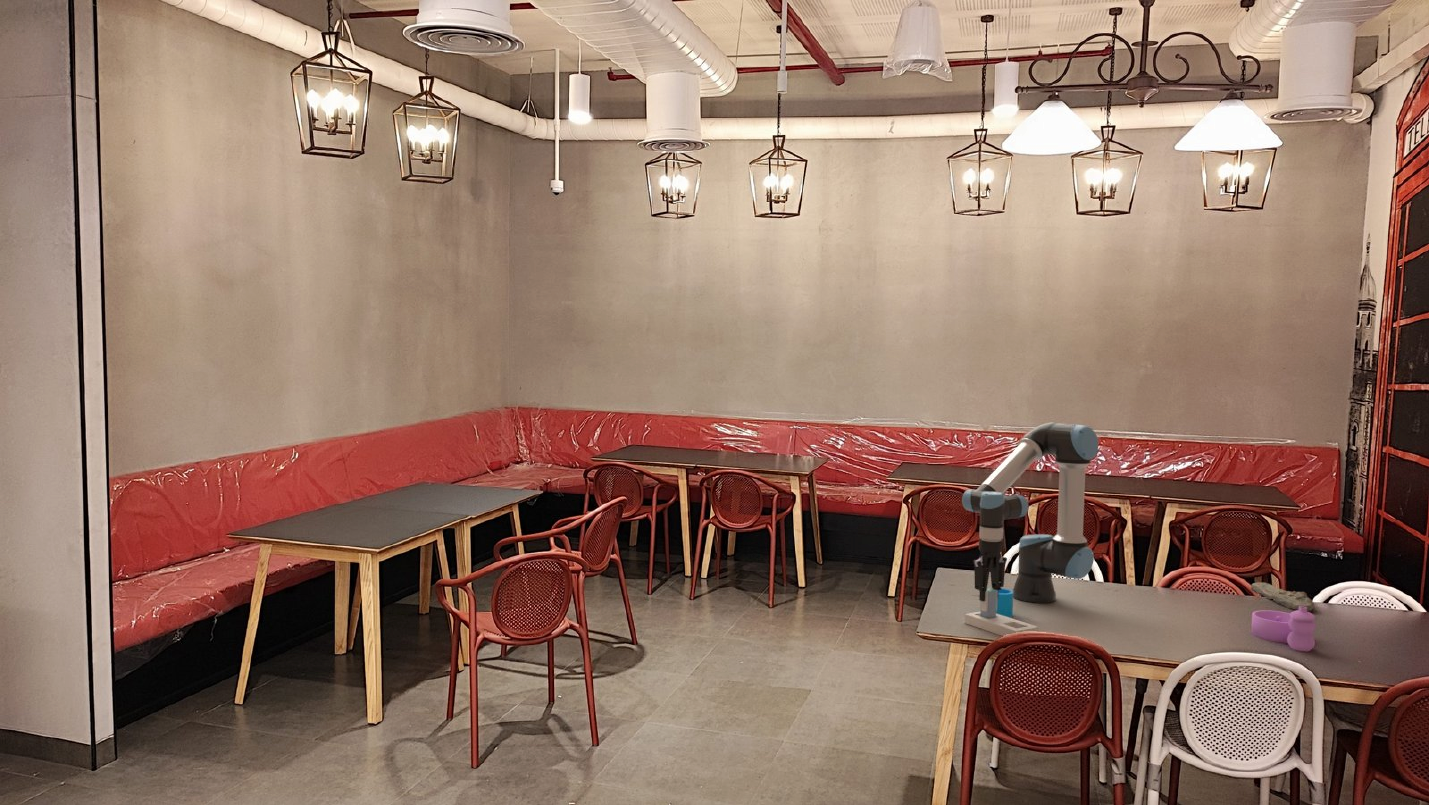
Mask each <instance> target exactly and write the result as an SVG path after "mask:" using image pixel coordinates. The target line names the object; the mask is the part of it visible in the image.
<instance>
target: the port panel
mask: <svg viewBox="0 0 1429 805" xmlns="http://www.w3.org/2000/svg"><path fill="white" fill-rule="evenodd" d="M980 615H981V610H980V611H974V612H969V613H965V614H964V624H967V625H970V626H973V627H975V628H979V629H980V630H983V631H987V632H989V633H992V634H995V635H999V636H1000V637H1001V636H1002V637H1004V636H1003V635H1006V634H1012V633H1016V632H1023V631H1038V632H1039V626H1038V625H1033V624H1030V623H1027V622H1024V621H1020V620H1018V619H1015V618H1012V617H1010V618H1009V617H1006V616H1003V615H1000V614H997V613H996V618H991V619H987V618H984V617H981V616H980Z"/></svg>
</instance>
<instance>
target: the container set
mask: <svg viewBox="0 0 1429 805" xmlns="http://www.w3.org/2000/svg"><path fill="white" fill-rule="evenodd" d="M1251 614H1252V615H1251V632H1250V633H1251V634H1252V635H1253V636H1254V637H1256V638H1259V639H1262V640H1265V641H1270V642H1276V643H1284V644H1288V645H1289V647H1290V649H1293V650H1294V651H1297V652H1298V651H1299V652H1310V651H1311V650H1313V648H1315V645H1316V640H1315V637H1314V636H1313V634H1312V633H1314V632H1315V630H1316V624H1315V620H1316V617H1315V615H1314V614H1313V613H1311V611H1307V607H1302V606H1300V607H1299V610H1297V609H1296V610H1293V611H1292V612H1285V611H1279V610H1267V609H1265V610H1262V609H1261V610H1256V611H1253V612H1252V613H1251Z"/></svg>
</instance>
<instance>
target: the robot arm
mask: <svg viewBox="0 0 1429 805" xmlns="http://www.w3.org/2000/svg"><path fill="white" fill-rule="evenodd" d="M1098 451H1099V440H1098V436H1097V434H1096V432H1095V430H1094V429H1093V427H1092V428H1091V426H1088V425H1083V424H1078V423H1066V422H1065V423H1064V422H1063V423H1061V422H1046V423H1042V424H1040V425H1038V426H1036V427H1034V428H1033V429H1031V430H1029V431H1028V432H1027V433H1026V434H1024V435H1023V437H1021V438H1020V440H1018V442H1017V447H1015V449H1014V450H1013V451H1012V452H1011V453H1010V454H1009V455H1008V456H1007V457H1006V458H1005V459H1004V460H1003V461H1002V462H1001V463H1000V464H999V465H998V467H996V469H995V470H994V471H993V472H992V473H991V474H989V476H988V477H987V478H986V479H985V480H984V481H983V482H982V483H981V484H980V486H978V487H977V489H975V488H973V489H966V490H965V491H964V493H963V494H962V498H961V502H962V503H961V504H962V507H963V508H964V509H965V510H966V511H969V512H972V513H977V514H979V532H978V534H979V535H978V537H979V538H980V539H979V540H978V550H979V552H980V555H979V557H978V559H974V560H973V561H972V563H973V566H974V570H973V571H974V589H975V590H977V591H978V592H979V596H978V597H979V598H978V599H979V602H980V603H979V610H980V611H981V610H982V611H985V612H987V611H988V592H987V588H988V583H989V577H990V581H991V589H995V590H997V599H998V591H999V590H1001V589H1003V587H1004V584H1005V573H1006V572H1005V571H1006V563H1007V560H1008V558H1007V557H1005V556H1002V554H1001V553H1002V552H1003V546H1004V545H1003V543H1004V542H1003V539H1004V521H1005V520H1011V519H1019V518H1023V517H1024V516H1026V515H1027V514H1028V512H1029V502H1028V500H1027V499H1026V497H1024V496H1023V495H1022V494H1021V495H1020V494H1012V495H1007V494H1005V493H1006V491H1007V490H1008V489H1009V488H1010V487H1011V486H1012V485H1013V484H1014V483H1015V482H1016V481H1017V480H1018V479H1019V478H1020V477H1021V476H1022V475H1023V473H1024V472H1025V471H1027V469H1028V468H1029V467H1030V466H1031V465H1032V464H1033V463H1034V462H1037V461H1039V460H1041V459H1042V458H1043V457H1044V456H1048V455H1049V456H1050V455H1051V456H1055V458H1054V459H1055V463H1056V465H1058V467H1059V472H1058V474H1059V478H1058V501H1057V507H1058V508H1057V509H1058V510H1057V529H1056V530H1057V531H1056V534H1055V535H1051V534H1043V533H1042V534H1039V533H1038V534H1027V535H1023V536H1022V537H1020V539H1019V544H1018V574H1017V578H1016V581H1015V583H1014V586H1013V589H1012V591H1013V599H1017V600H1019V601H1023V602H1030V603H1043V604H1044V603H1052V602H1055V601H1056V600H1057V593H1056V591H1055V586H1054V583H1053V579H1052V578H1053V577H1052V576H1053V575H1057V576H1061V577H1065V578H1068V579H1076V580H1081V579H1084V578H1085V577H1087V575H1088V574H1089V572H1091V569H1092V567H1093V565H1094V560H1095V555H1094V552H1093V550H1092V549H1091V547H1088V540H1087V538H1086V537H1085V536H1084V515H1085V512H1084V511H1085V490H1086V488H1085V485H1086V484H1085V483H1086V468H1087V467H1088V466H1089V465H1091V460H1093V459H1094V458H1095V457H1096V456H1097V453H1098ZM1052 574H1053V575H1052ZM996 610H997V604H996Z"/></svg>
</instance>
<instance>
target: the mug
mask: <svg viewBox="0 0 1429 805" xmlns="http://www.w3.org/2000/svg"><path fill="white" fill-rule="evenodd" d="M1013 600H1014V597H1013V590H1011V589H1006V588H1002V589H1001V590H999V591H998V599H997V610H996V613H997V614H1000V615H1003V616H1006V617H1009V618H1012V617H1013V609H1014V608H1013V606H1014V601H1013Z"/></svg>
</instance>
